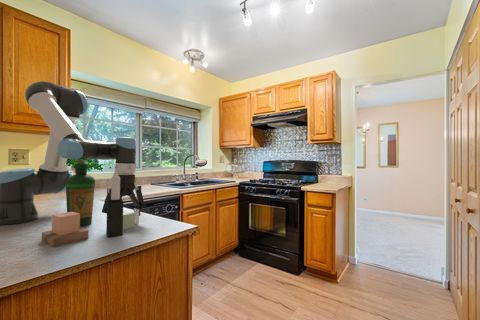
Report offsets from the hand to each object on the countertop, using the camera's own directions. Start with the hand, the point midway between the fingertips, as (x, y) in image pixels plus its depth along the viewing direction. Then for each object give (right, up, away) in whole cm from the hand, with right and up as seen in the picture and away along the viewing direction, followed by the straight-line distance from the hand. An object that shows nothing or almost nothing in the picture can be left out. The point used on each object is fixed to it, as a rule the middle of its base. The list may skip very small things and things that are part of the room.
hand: (124, 226), depth 94 cm
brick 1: (-12, +3, -16) cm, 20 cm away
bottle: (-21, 0, +3) cm, 21 cm away
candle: (+1, 0, -9) cm, 9 cm away
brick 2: (0, 0, 0) cm, 0 cm away
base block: (-12, 0, -16) cm, 20 cm away
